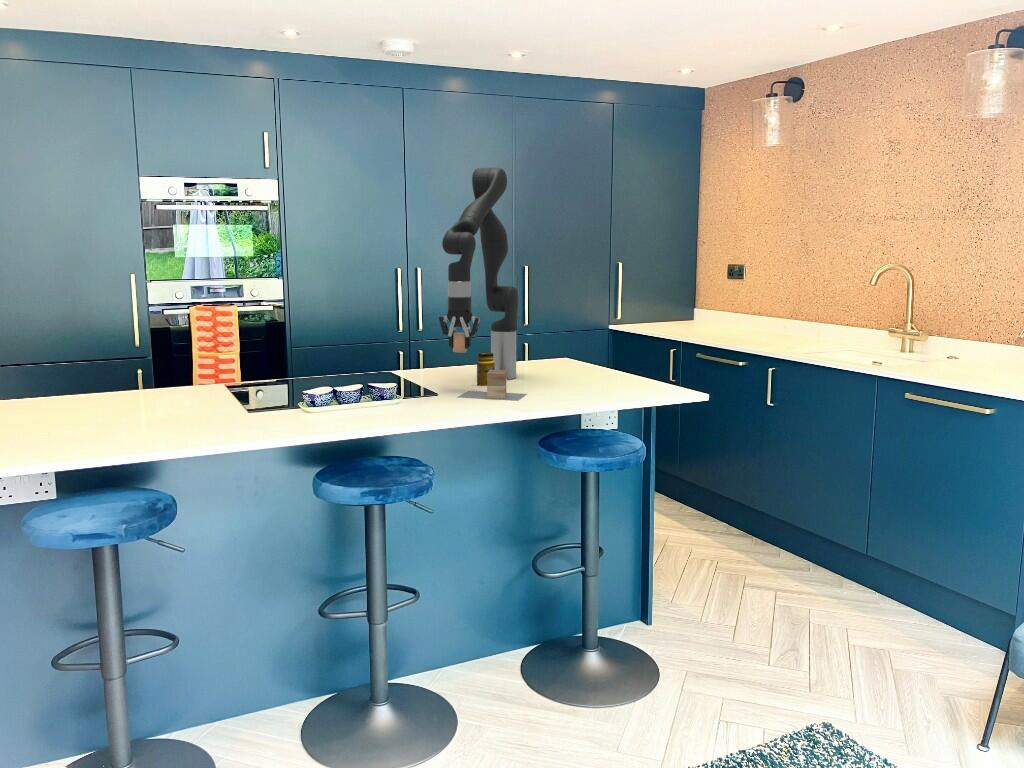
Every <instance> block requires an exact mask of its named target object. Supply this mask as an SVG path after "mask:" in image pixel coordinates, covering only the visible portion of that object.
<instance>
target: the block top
mask: <svg viewBox="0 0 1024 768" xmlns="http://www.w3.org/2000/svg"><path fill="white" fill-rule="evenodd" d="M506 377H507V371H500V370H489V371H488V372H487V386H505V385H506V386H507V379H506ZM487 386H486V387H487Z"/></svg>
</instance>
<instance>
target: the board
mask: <svg viewBox="0 0 1024 768" xmlns="http://www.w3.org/2000/svg"><path fill="white" fill-rule="evenodd" d="M527 395H528V393H518V392H517V393H516V392H506V397H505V399H492V400H493V401H494V400H497V401H515V402H516V401H517V402H519V401H520V400H522V399H524V398H525V396H527ZM457 398H462V399H475V400H476V399H477V400H490V399H489V398H487V391H483V390H482V391H481V390H479V391H478V390H467V391H465V392H464V393H462V394H459V395H457Z"/></svg>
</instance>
